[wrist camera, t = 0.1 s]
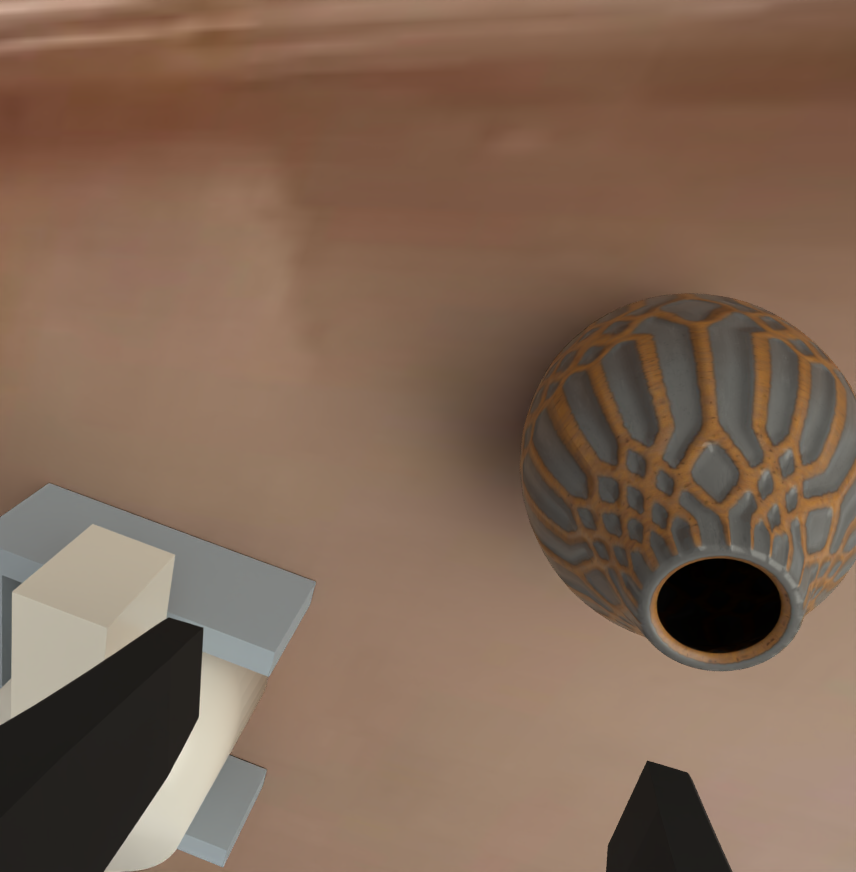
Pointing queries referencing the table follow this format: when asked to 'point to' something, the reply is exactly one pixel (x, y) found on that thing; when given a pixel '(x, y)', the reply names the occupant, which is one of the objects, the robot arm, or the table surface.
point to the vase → (695, 475)
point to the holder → (189, 602)
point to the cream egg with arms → (102, 637)
